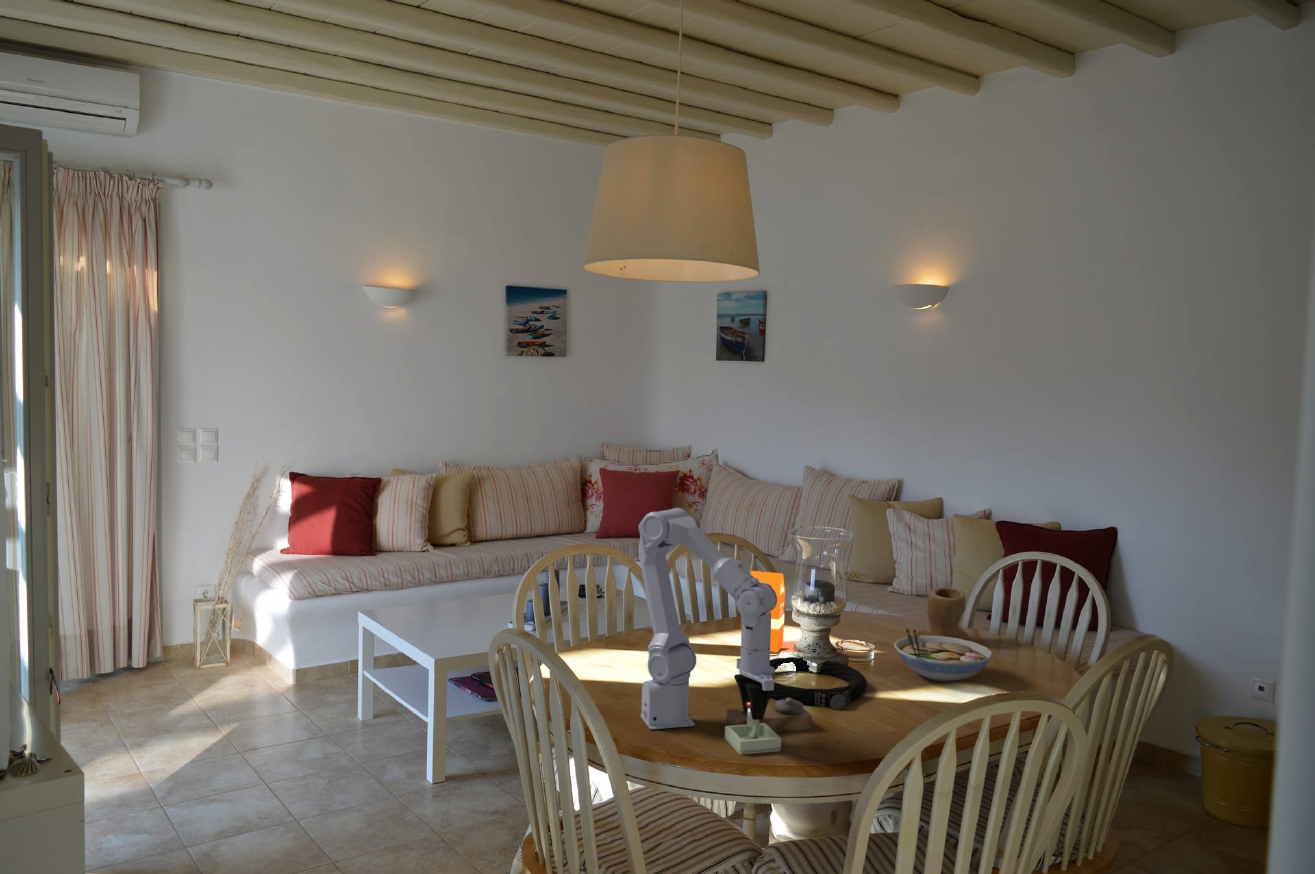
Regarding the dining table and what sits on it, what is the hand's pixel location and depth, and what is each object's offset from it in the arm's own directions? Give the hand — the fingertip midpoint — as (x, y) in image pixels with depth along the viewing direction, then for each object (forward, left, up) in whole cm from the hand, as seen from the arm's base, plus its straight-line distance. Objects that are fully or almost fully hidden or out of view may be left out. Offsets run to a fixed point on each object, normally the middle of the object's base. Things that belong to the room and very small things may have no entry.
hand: (753, 715), depth 193 cm
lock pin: (0, 0, -5) cm, 5 cm away
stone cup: (+80, +57, -6) cm, 99 cm away
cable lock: (+26, +29, -7) cm, 40 cm away
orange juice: (+29, +63, -6) cm, 70 cm away
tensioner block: (+7, +8, -6) cm, 12 cm away
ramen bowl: (+61, +29, -6) cm, 68 cm away
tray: (0, 0, -6) cm, 6 cm away
